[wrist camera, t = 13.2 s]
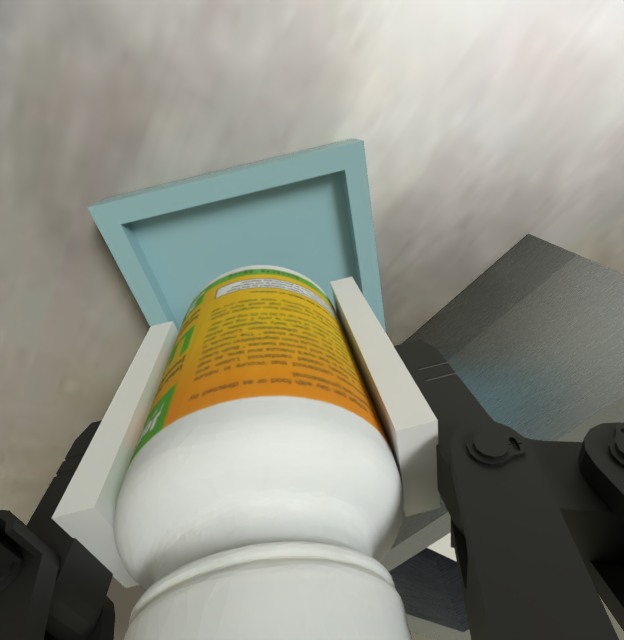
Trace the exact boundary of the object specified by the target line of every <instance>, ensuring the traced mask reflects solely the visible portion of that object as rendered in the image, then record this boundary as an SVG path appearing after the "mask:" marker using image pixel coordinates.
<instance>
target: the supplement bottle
mask: <svg viewBox="0 0 624 640" xmlns="http://www.w3.org/2000/svg"><path fill="white" fill-rule="evenodd" d="M403 505H404V496H403V487H402V482H401V477H400V474H399V471H398V468H397V465H396V462H395V459H394V456H393V453H392V450H391V448H390V445H389V442H388V440H387V437H386V435H385V432H384V430H383V428H382V425H381V422H380V420H379V418H378V415H377V413H376V411H375V408H374V406H373V403H372V401H371V398H370V395H369V393H368V390H367V388H366V386H365V383H364V381H363V378H362V376H361V373H360V371H359V368H358V365H357V363H356V360H355V358H354V355H353V353H352V350H351V348H350V345H349V343H348V340H347V338H346V335H345V333H344V330H343V327H342V325H341V322H340V320H339V317H338V315H337V313H336V311H335V308H334V306H333V304H332V303H331V301H330V299H329V298H328V296H327V295H326V294H325V292H324V291H323V290H322V289H321V288H320V287H319V286H318V285H317V284H316V283H314V282H313V281H312V280H311V279H309V278H307V277H306V276H304V275H302V274H300V273H298V272H295V271H293V270H290V269H287V268H283V267H278V266H272V265H251V266H245V267H241V268H237V269H234V270H231V271H228V272H226V273H224V274H222V275H220V276H218V277H216V278H215V279H213V280H212V281H210V282H209V283H208V284H207V285H206V286H204V287H203V288H202V289H201V290H200V292H199V293H198V294H197V295H196V296H195V298H194V299H193V301H192V303H191V304H190V306H189V308H188V310H187V313H186V315H185V317H184V320H183V322H182V325H181V328H180V331H179V333H178V336H177V339H176V342H175V344H174V347H173V349H172V352H171V355H170V358H169V361H168V363H167V366H166V369H165V371H164V374H163V377H162V379H161V382H160V385H159V387H158V390H157V393H156V395H155V398H154V401H153V403H152V406H151V409H150V411H149V414H148V417H147V419H146V422H145V425H144V427H143V430H142V433H141V435H140V438H139V440H138V443H137V445H136V448H135V451H134V454H133V456H132V458H131V461H130V463H129V466H128V468H127V471H126V474H125V477H124V481H123V484H122V486H121V489H120V492H119V495H118V499H117V503H116V508H115V516H114V537H115V543H116V548H117V551H118V554H119V556H120V558H121V560H122V562H123V564H124V566H125V568H126V570H127V571H128V573H129V574H130V575H131V577H132V578H133V579H134V580H135V581H136V582H137V583H138V584H139V585H140V586H141V587H142V588H143V589H144V590H146V592H145V593H144V594H143V595H142V596H141V597H140V599H139V600H138V602H137V603H136V605H135V606H134V608H133V610H132V612H131V615H130V619H129V626H128V629H127V632H126V634H125V637H124V640H412V637H411V633H410V629H409V625H408V621H407V617H406V612H405V608H404V604H403V601H402V599H401V597H400V595H399V593H398V592H397V591H396V589H395V584H394V581H393V579H392V576H391V575H390V573H389V572H388V571H387V569H386V568H385V567H384V566H383V565H382V564H380V562H381V561H382V560H383V559H384V557H385V556H386V554H387V553H388V551H389V550H390V548H391V547H392V545H393V543H394V541H395V539H396V537H397V534H398V531H399V528H400V526H401V521H402V516H403Z"/></svg>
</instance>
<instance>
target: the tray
mask: <svg viewBox="0 0 624 640" xmlns="http://www.w3.org/2000/svg"><path fill="white" fill-rule="evenodd" d="M88 210H89V211H90V213H91V215H92V217H93V219H94V221H95V223H96V225H97V227H98V229H99V230H100V232H101V234H102V236H103V238H104V240H105V242H106V244H107V246H108V247H109V249H110V251H111V253H112V255H113V257H114V259H115V261H116V263H117V265H118V266H119V268H120V270H121V272H122V274H123V276H124V278H125V280H126V282H127V284H128V285H129V287H130V289H131V291H132V293H133V295H134V297H135V299H136V301H137V302H138V304H139V306H140V308H141V310H142V312H143V314H144V316H145V318H146V320H147V321H148V323H149V325H150V327H151V326H154V325H158V324H162V323H166V322H170V321H173V322H174V324H175V326H176V328H177V330H178V332H179V331H180V328H181V325H182V322H183V320H184V317H185V315H186V313H187V310H188V308H189V306H190V304H191V303H192V301H193V299H194V298H195V296H196V295H197V294H198V293H199V292H200V290H201V289H202V288H203V287H204V286H206V285H207V284H208V283H209V282H210V281H212V280H213V279H215V278H216V277H218V276H220V275H222V274H224V273H226V272H228V271H231V270H234V269H237V268H241V267H245V266H251V265H272V266H278V267H283V268H287V269H290V270H293V271H295V272H298V273H300V274H302V275H304V276H306V277H307V278H309V279H311V280H312V281H313V282H314V283H316V284H317V285H318V286H319V287H320V288H321V289H322V290H323V291H324V292H325V294H326V295H327V296H328V298H329V299H330V301H331V303H332V304H333V306H334V308H335V304H334V299H333V294H332V289H331V284H330V282H332V281H336V280H340V279H344V278H348V277H353V279H354V281H355V282H356V284H357V286H358V288H359V289H360V291H361V293H362V294H363V296H364V298H365V299H366V301H367V303H368V304H369V306H370V308H371V309H372V311H373V313H374V314H375V316H376V318H377V319H378V321H379V323H380V324H381V326H382V328H383V329H384V331H385V333H386V330H385V321H384V313H383V304H382V295H381V287H380V278H379V270H378V261H377V253H376V244H375V235H374V227H373V218H372V210H371V201H370V192H369V184H368V175H367V167H366V158H365V149H364V141H363V140H358V139H349V140H345V141H341V142H337V143H332V144H328V145H324V146H320V147H316V148H312V149H308V150H304V151H300V152H295V153H291V154H287V155H283V156H279V157H275V158H271V159H267V160H262V161H258V162H254V163H250V164H246V165H242V166H238V167H234V168H229V169H225V170H221V171H217V172H213V173H209V174H205V175H201V176H196V177H192V178H188V179H184V180H180V181H176V182H172V183H168V184H163V185H159V186H155V187H151V188H147V189H143V190H139V191H135V192H130V193H126V194H122V195H118V196H114V197H110V198H106V199H103V200H101V201H99V202H97V203H95V204H93V205H92V206H90V207H88ZM335 311H336V309H335Z"/></svg>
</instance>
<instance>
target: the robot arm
mask: <svg viewBox="0 0 624 640" xmlns="http://www.w3.org/2000/svg"><path fill="white" fill-rule="evenodd" d="M330 284H331V289H332V294H333V299H334V304H335V309H336V313H337V315H338V317H339V320H340V322H341V325H342V327H343V330H344V333H345V335H346V338H347V340H348V343H349V345H350V348H351V350H352V353H353V355H354V358H355V360H356V363H357V365H358V368H359V371H360V373H361V376H362V378H363V381H364V383H365V386H366V388H367V390H368V393H369V395H370V398H371V401H372V403H373V406H374V408H375V411H376V413H377V415H378V418H379V420H380V422H381V425H382V428H383V430H384V432H385V435H386V437H387V440H388V442H389V445H390V448H391V450H392V453H393V456H394V459H395V462H396V465H397V468H398V471H399V474H400V477H401V482H402V487H403V496H404V505H403V509H404V512H405V515H406V517H407V516H411V515H414V514H418V513H422V512H426V511H430V510H434V509H438V508H440V496H441V498H442V500H443V502H444V504H445V506H446V508H447V510H448V512H449V514H450V516H451V548H454V549H455V555H456V560H457V565H458V571H459V576H460V582H461V587H462V592H463V598H464V603H465V608H466V614H467V619H468V625H469V630H470V635H471V640H619V639H618V637H617V634H616V632H615V630H614V628H613V626H612V623H611V621H610V619H609V617H608V615H607V613H606V610H605V608H604V606H603V604H602V602H601V599H602V600H603V602H604V603H605V604H606V606H607V607H608V609H609V610H610V612H611V613H612V615H613V616H614V618H615V619H616V621H617V622H618V624H619V625H620V626H621V628H622V629H623V631H624V423H620V422H615V423H602V424H599V425H597V426H595V427H593V428H590V430H589V431H588V433H587V434H586V436H585V437H584V440H583V442H565V441H542V440H533V439H528V438H525V437H523V436H522V435H520V434H519V433H517V432H516V431H515V430H513V429H512V428H511V427H508V426H505V425H503V424H500V423H498V422H495V421H494V420H493V419H492V418H491V417H490V416H489V415H488V413H487V412H486V411H485V410H484V408H483V407H482V406H481V404H480V403H479V402H478V401H477V399H476V398H475V397H474V396H473V394H472V393H471V392H470V390H469V389H468V388H467V387H466V385H465V384H464V383H463V381H462V380H461V379H460V378H459V376H458V375H456V374H455V371H454V370H453V369H452V367H451V366H450V365H449V364H447V361H446V360H445V358H444V357H443V356H442V354H441V353H440V352H439V351H438V349H437V348H435V347H433V346H432V345H430V344H428V343H426V342H425V341H423V340H417V341H413V342H409V343H405V344H401V345H397V346H393V345H392V343H391V341H390V339H389V338H388V336H387V334H386V333H385V331H384V329H383V328H382V326H381V324H380V323H379V321H378V319H377V318H376V316H375V314H374V313H373V311H372V309H371V308H370V306H369V304H368V303H367V301H366V299H365V298H364V296H363V294H362V293H361V291H360V289H359V288H358V286H357V284H356V282H355V281H354V279H353V277H348V278H344V279H340V280H336V281H332V282H330ZM178 333H179V332H178V330H177V328H176V326H175V324H174V322H173V321H170V322H166V323H162V324H158V325H154V326H151V327H150V329H149V331H148V333H147V335H146V337H145V338H144V340H143V342H142V344H141V346H140V348H139V350H138V352H137V354H136V356H135V358H134V360H133V362H132V364H131V365H130V367H129V369H128V371H127V373H126V375H125V377H124V379H123V381H122V383H121V385H120V387H119V389H118V391H117V393H116V394H115V396H114V398H113V400H112V402H111V404H110V406H109V408H108V410H107V412H106V414H105V416H104V418H103V420H102V421H98V422H94V423H91V424H90V425H89V426H88V427H87V428H86V429H85V431H84V432H83V433H82V434H81V435H80V436H79V437H78V438H77V439H76V440H75V442H74V443H73V445H72V447H71V449H70V450H69V452H68V454H67V456H66V457H65V459H66V461H64V462H63V463H62V464H61V466H60V468H59V470H58V471H57V473H56V474H57V477H54V479H53V480H52V482H51V484H50V486H49V487H48V489H47V491H46V493H45V494H44V496H43V498H42V500H41V501H40V503H39V505H38V507H37V508H36V510H35V512H34V514H33V515H32V517H31V519H30V521H29V522H28V524H27V526H26V525H25V524H24V523H23V522H22V521H20V520H19V519H18V518H17V517H16V516H15V515H13V514H12V513H11V512H10V511H6V510H0V640H113V639H114V623H115V611H114V604H113V602H112V601H111V600H110V599H109V598H108V597H107V596H106V594H107V591H108V588H109V585H110V582H111V578H112V576H113V577H114V578H115V579H116V580H117V581H119V583H121V584H122V585H123V586H124V587H125V588H129V587H133V586H137V585H139V584H138V583H137V582H136V581H135V580H134V579H133V578H132V577H131V575H130V574H129V573H128V571H127V570H126V568H125V566H124V564H123V562H122V560H121V558H120V556H119V554H118V551H117V548H116V543H115V537H114V516H115V508H116V503H117V499H118V495H119V492H120V489H121V486H122V484H123V481H124V477H125V474H126V471H127V468H128V466H129V463H130V461H131V458H132V456H133V454H134V451H135V448H136V445H137V443H138V440H139V438H140V435H141V433H142V430H143V427H144V425H145V422H146V419H147V417H148V414H149V411H150V409H151V406H152V403H153V401H154V398H155V395H156V393H157V390H158V387H159V385H160V382H161V379H162V377H163V374H164V371H165V369H166V366H167V363H168V361H169V358H170V355H171V352H172V349H173V347H174V344H175V342H176V339H177V336H178ZM598 594H599V595H598ZM599 596H600V597H601V599H600V597H599Z"/></svg>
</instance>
